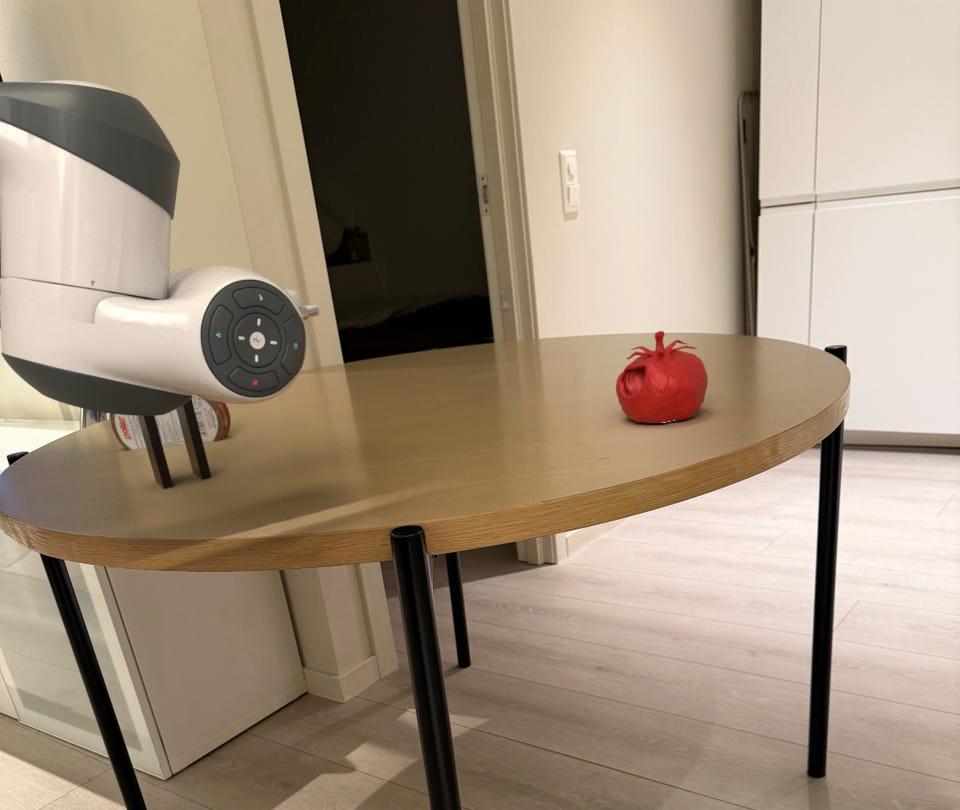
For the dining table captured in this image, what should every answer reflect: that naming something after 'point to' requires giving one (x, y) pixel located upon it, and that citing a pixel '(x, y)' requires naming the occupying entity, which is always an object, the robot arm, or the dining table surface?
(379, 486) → the dining table surface
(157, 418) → the tin
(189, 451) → the bracket
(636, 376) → the red tomato
